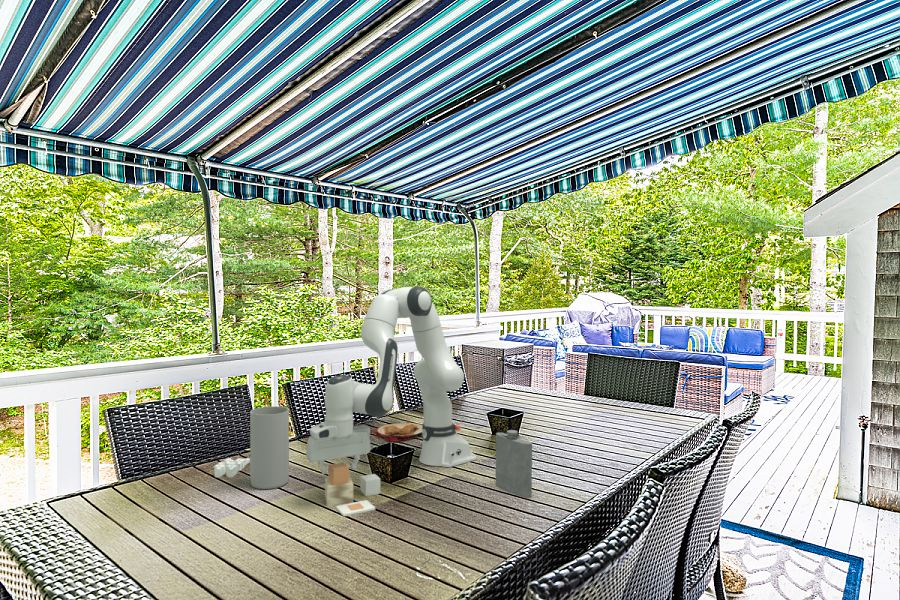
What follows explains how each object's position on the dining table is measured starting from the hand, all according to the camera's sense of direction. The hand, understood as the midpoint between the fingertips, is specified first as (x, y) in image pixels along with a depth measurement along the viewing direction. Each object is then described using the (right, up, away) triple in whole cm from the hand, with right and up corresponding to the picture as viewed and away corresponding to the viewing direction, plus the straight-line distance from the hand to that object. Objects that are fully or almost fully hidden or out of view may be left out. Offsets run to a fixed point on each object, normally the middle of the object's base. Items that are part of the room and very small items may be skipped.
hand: (339, 471), depth 175 cm
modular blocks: (-44, -8, +28) cm, 53 cm away
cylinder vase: (-26, -9, +14) cm, 31 cm away
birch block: (0, -9, 0) cm, 9 cm away
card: (+6, -9, -7) cm, 13 cm away
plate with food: (+12, -8, +79) cm, 81 cm away
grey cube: (+9, -9, +7) cm, 14 cm away
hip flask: (+56, -10, +9) cm, 57 cm away
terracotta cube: (0, -3, 0) cm, 3 cm away
